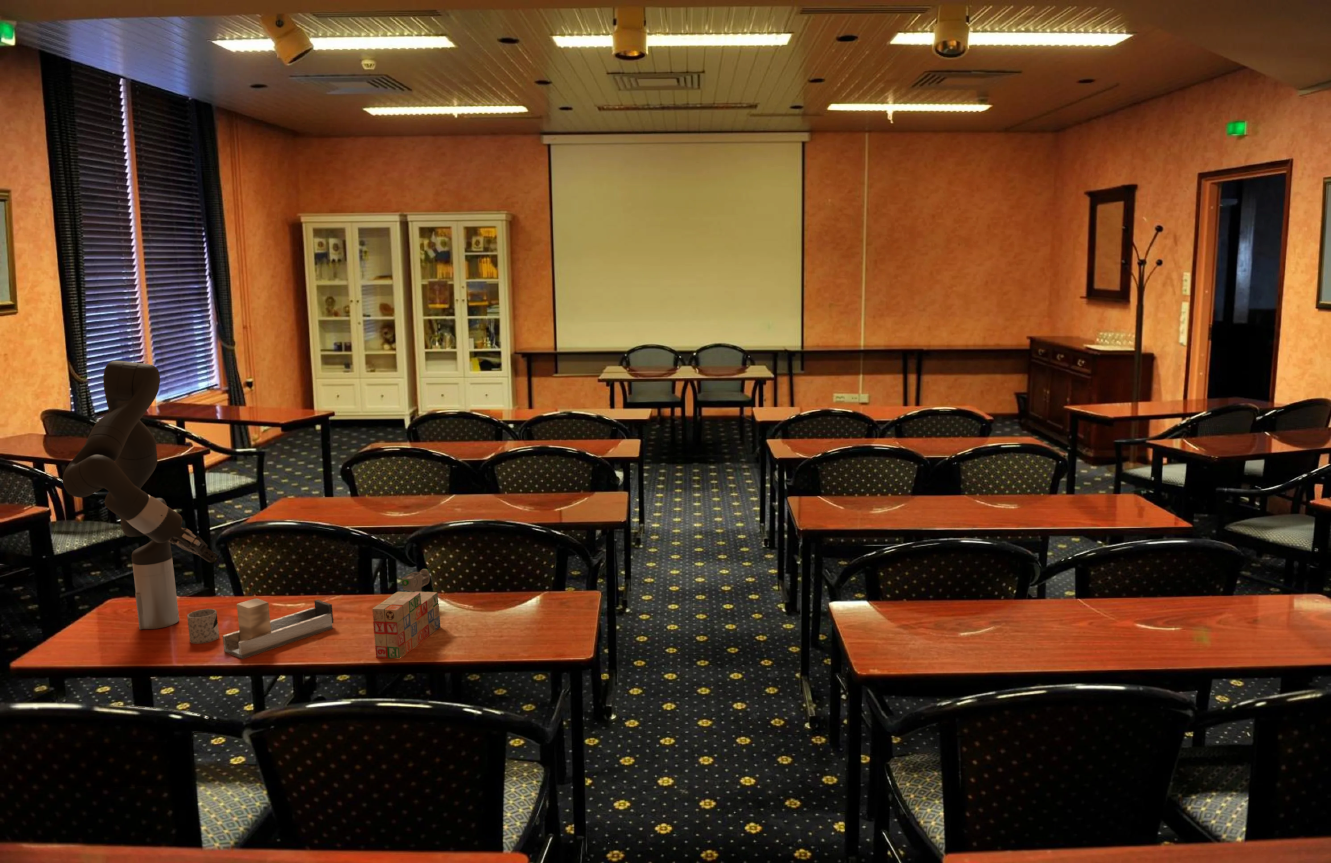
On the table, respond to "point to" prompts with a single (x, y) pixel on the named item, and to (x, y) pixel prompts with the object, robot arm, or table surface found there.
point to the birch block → (253, 618)
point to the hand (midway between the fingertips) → (213, 558)
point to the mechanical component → (416, 580)
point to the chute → (282, 631)
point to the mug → (203, 626)
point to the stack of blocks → (404, 622)
